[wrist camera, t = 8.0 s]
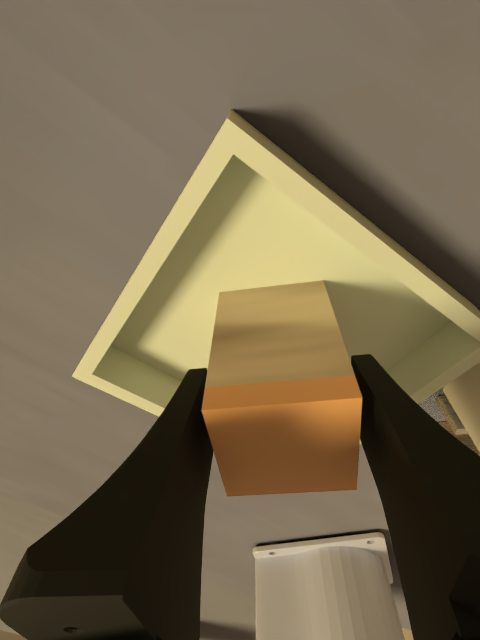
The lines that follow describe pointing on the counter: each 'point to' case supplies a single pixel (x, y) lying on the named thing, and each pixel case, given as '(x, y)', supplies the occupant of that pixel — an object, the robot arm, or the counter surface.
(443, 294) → the tray
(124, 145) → the counter surface
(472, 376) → the block
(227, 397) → the wooden block
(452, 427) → the clip holder
